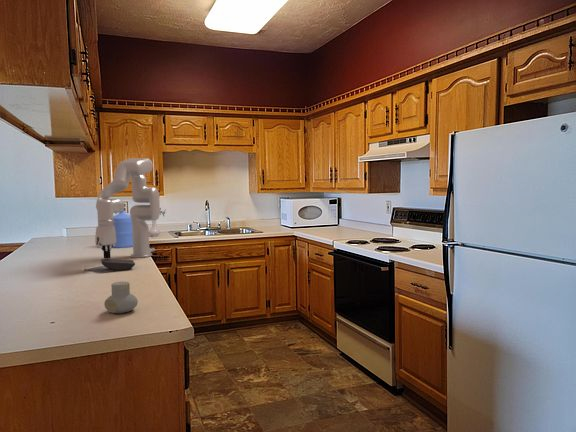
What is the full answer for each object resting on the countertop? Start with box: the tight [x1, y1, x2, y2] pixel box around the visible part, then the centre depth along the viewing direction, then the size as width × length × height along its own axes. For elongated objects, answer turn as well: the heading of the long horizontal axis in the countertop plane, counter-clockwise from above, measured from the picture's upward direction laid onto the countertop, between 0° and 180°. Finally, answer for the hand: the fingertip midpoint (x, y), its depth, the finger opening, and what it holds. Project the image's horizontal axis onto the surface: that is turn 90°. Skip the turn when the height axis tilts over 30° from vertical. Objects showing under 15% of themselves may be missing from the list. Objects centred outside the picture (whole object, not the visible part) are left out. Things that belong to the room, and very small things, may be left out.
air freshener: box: [104, 281, 139, 314], centre depth 153 cm, size 11×8×10 cm
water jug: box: [112, 208, 133, 249], centre depth 313 cm, size 16×16×28 cm
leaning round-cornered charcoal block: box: [100, 258, 136, 271], centre depth 228 cm, size 16×5×9 cm
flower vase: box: [149, 207, 166, 238], centre depth 375 cm, size 13×18×25 cm
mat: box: [83, 265, 117, 274], centre depth 229 cm, size 11×16×1 cm
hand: (107, 258), depth 231 cm, fingers closed
